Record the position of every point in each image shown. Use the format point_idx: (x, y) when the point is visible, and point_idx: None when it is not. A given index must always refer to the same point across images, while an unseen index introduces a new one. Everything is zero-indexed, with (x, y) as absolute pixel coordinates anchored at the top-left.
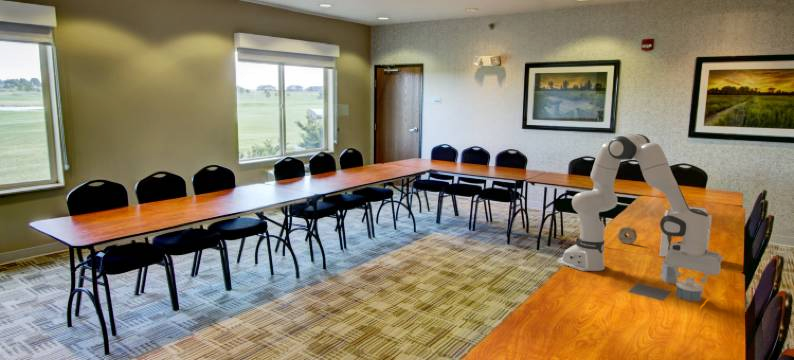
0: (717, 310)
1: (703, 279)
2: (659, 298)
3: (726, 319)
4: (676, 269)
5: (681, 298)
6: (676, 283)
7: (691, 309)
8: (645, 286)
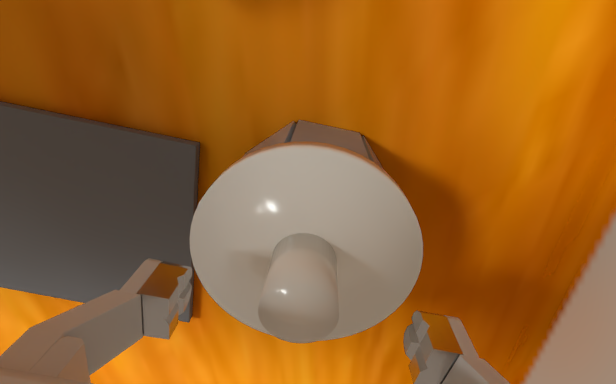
0: (460, 302)
1: (436, 380)
2: None
3: None
4: (87, 363)
5: None
6: (198, 275)
7: (330, 342)
8: (15, 141)
